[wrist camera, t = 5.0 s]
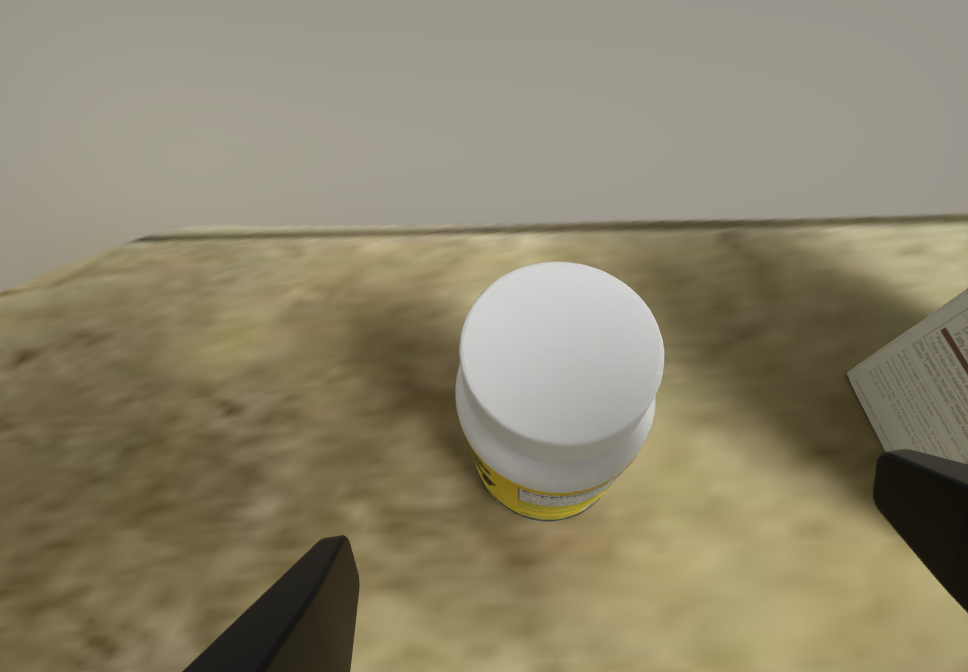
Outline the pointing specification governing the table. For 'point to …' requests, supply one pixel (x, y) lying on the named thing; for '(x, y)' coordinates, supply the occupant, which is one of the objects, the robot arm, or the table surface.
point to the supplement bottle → (556, 386)
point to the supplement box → (921, 385)
